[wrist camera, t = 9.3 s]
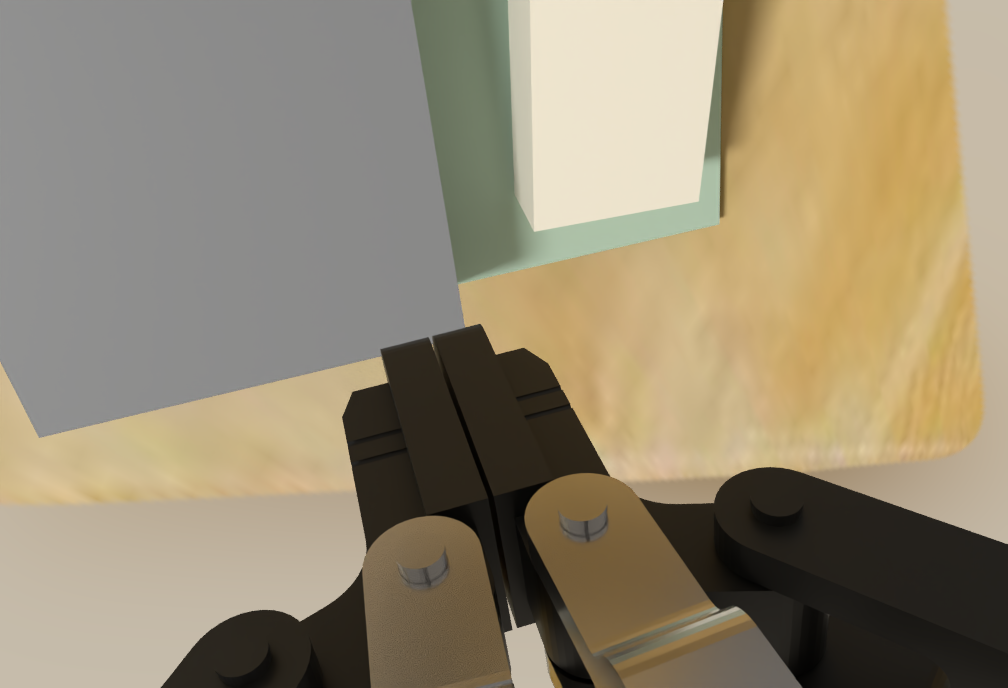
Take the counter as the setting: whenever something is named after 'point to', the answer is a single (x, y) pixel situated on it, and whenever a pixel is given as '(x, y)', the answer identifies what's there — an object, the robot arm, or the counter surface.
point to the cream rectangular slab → (609, 105)
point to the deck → (211, 199)
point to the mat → (489, 151)
